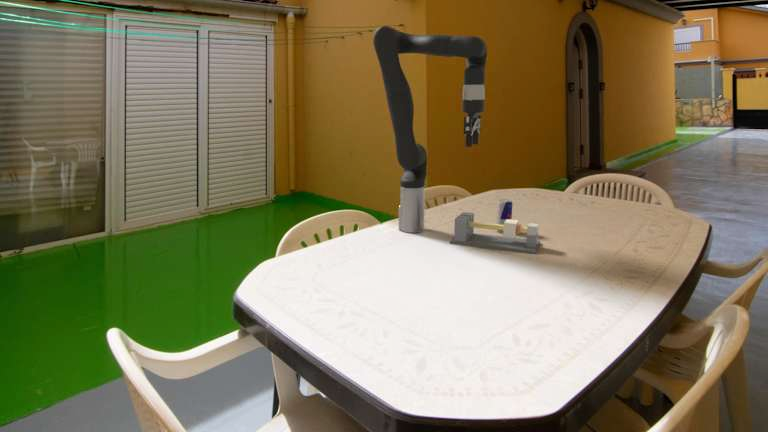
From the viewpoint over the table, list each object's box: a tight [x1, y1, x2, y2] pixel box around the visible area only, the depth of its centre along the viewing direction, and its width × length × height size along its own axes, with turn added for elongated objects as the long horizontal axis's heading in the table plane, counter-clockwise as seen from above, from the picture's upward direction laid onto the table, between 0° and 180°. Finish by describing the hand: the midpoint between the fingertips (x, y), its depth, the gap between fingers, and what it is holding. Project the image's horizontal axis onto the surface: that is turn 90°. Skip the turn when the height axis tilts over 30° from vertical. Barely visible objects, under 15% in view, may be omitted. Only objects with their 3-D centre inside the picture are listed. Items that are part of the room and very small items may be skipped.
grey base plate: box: [449, 232, 541, 255], centre depth 160 cm, size 29×12×1 cm, turn 65°
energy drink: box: [496, 198, 513, 234], centre depth 173 cm, size 5×5×12 cm
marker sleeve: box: [502, 219, 519, 238], centre depth 156 cm, size 4×5×5 cm
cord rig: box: [453, 211, 540, 248], centre depth 159 cm, size 27×11×8 cm, turn 65°
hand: (472, 145), depth 163 cm, fingers open, 8 cm apart
